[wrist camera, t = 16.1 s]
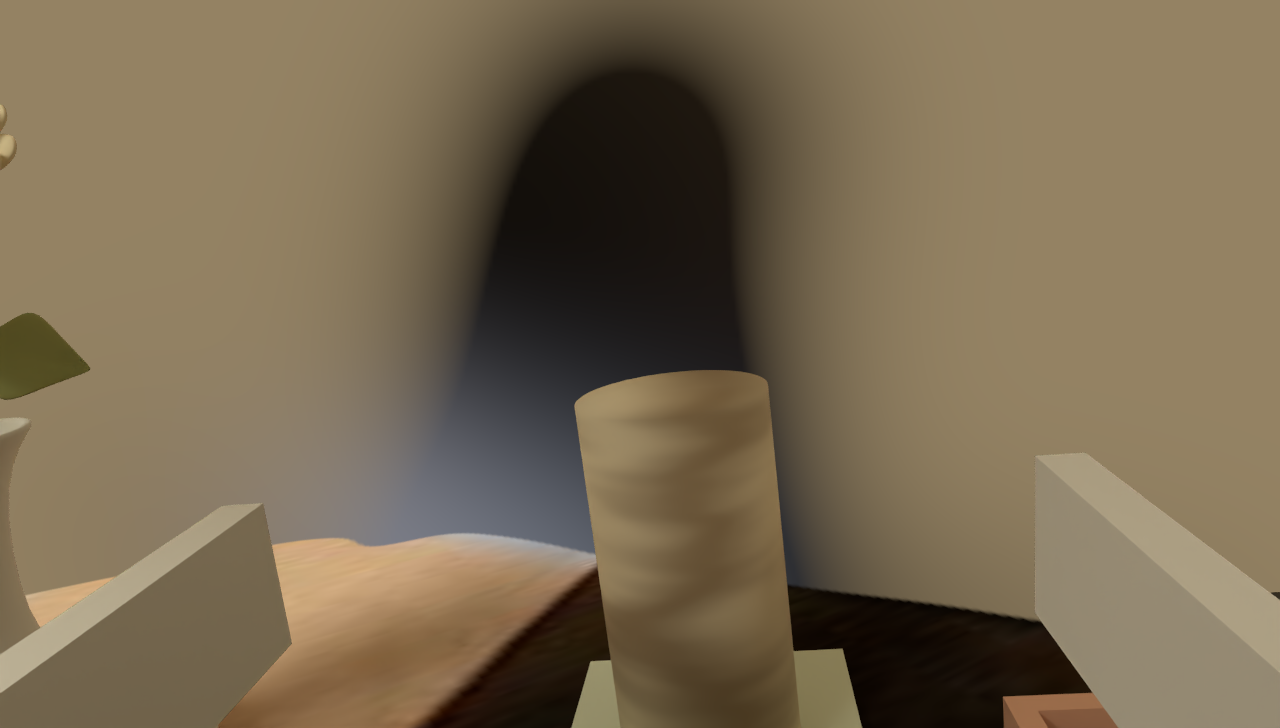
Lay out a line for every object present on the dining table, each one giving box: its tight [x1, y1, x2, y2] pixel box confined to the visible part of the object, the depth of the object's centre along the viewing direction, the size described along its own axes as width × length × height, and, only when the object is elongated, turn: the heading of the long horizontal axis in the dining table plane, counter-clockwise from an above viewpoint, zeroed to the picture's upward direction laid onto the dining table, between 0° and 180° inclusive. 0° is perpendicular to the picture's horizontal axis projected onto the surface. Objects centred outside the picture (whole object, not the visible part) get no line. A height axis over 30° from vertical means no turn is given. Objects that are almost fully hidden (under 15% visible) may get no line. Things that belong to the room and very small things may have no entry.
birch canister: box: [575, 370, 801, 728], centre depth 27 cm, size 6×6×12 cm
